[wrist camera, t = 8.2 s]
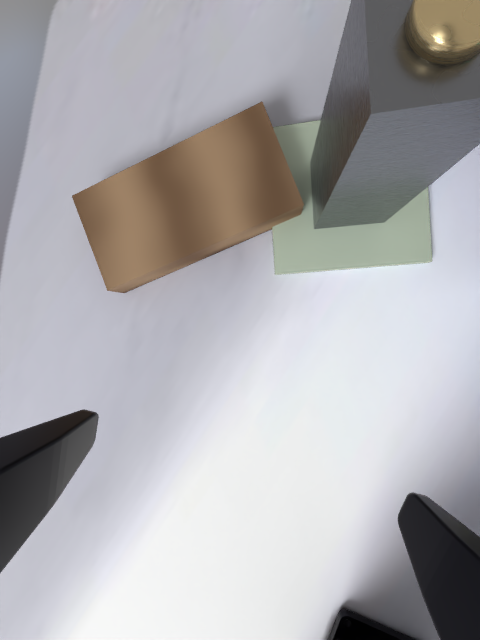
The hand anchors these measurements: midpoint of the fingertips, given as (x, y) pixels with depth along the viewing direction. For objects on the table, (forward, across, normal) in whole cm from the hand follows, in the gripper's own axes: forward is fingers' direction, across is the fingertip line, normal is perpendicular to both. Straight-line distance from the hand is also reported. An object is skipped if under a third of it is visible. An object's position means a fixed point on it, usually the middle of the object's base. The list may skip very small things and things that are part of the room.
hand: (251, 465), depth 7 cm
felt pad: (+13, -4, -11) cm, 18 cm away
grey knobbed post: (+13, -4, -12) cm, 17 cm away
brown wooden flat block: (+14, +7, -8) cm, 17 cm away
